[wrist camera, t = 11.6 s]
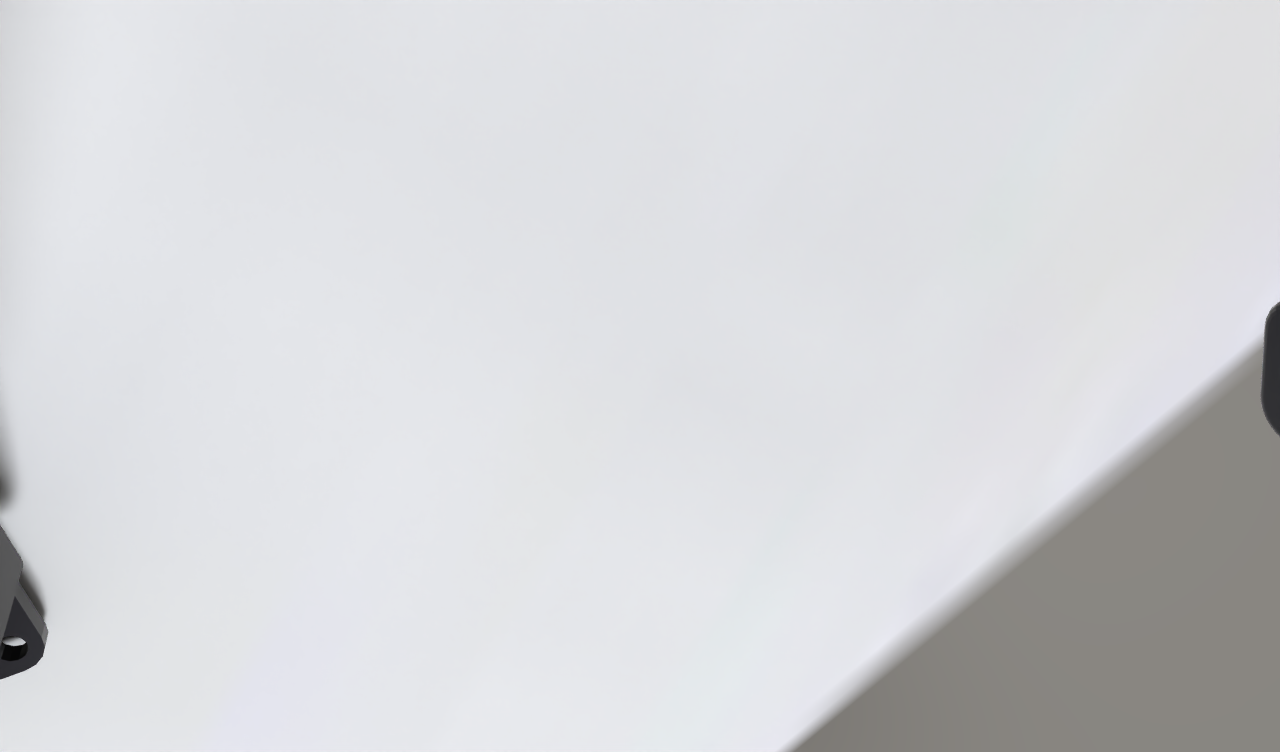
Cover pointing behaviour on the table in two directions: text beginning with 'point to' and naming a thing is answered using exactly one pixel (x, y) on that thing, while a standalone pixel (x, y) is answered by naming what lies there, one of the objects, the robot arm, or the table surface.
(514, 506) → the table surface
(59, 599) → the table surface
